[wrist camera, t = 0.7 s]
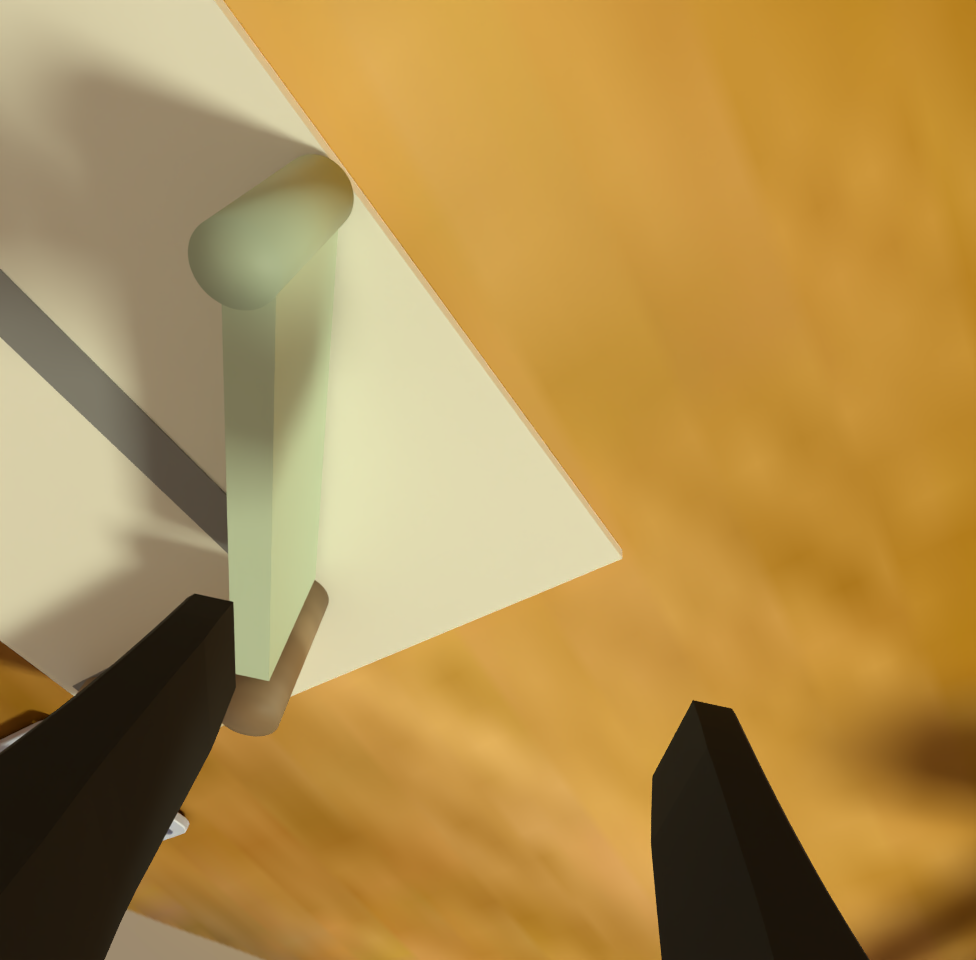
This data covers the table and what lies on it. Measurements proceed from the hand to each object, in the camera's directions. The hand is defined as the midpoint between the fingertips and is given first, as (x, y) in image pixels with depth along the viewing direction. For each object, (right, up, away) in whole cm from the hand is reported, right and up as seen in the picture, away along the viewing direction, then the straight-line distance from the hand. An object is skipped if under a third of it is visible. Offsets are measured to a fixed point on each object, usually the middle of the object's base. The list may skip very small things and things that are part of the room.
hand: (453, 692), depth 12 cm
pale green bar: (-4, +5, +8) cm, 10 cm away
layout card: (-10, +4, +10) cm, 15 cm away
